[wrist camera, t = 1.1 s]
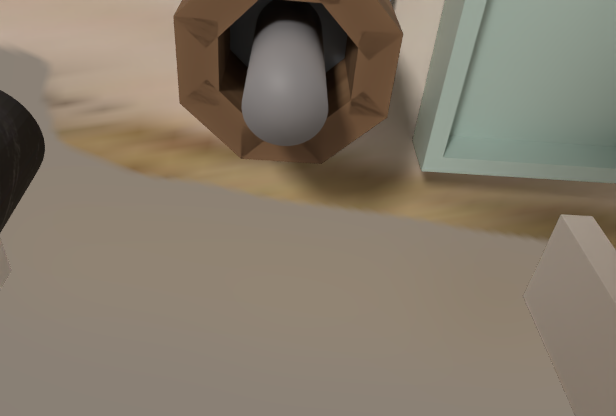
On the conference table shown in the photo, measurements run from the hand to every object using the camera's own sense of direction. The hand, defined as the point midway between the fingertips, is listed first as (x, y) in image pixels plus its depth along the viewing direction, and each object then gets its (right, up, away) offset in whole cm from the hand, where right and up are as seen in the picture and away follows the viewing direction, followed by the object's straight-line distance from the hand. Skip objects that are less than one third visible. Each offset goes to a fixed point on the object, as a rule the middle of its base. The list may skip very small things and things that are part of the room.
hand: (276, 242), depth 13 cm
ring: (0, +8, +10) cm, 13 cm away
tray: (+15, +10, +16) cm, 24 cm away
